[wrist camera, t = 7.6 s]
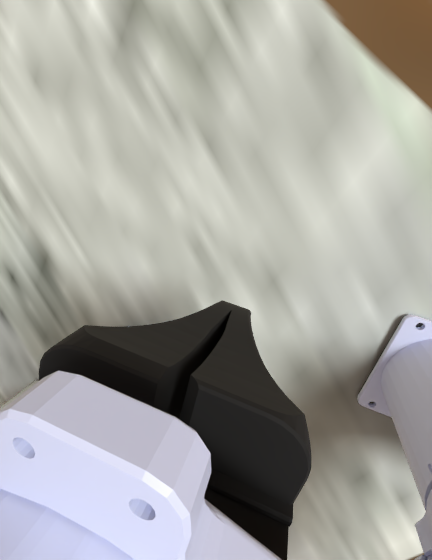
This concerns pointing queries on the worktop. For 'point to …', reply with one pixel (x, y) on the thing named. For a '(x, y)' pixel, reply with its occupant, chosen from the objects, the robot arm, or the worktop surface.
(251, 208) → the worktop surface
